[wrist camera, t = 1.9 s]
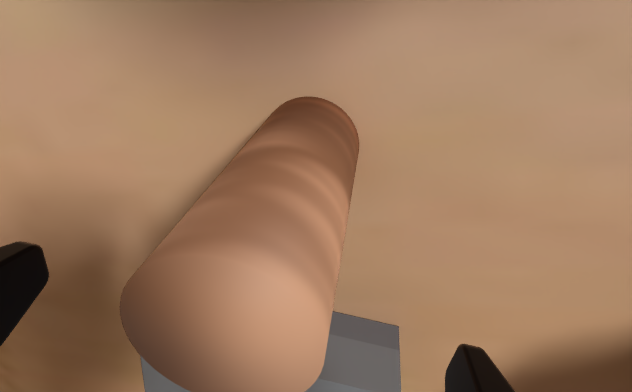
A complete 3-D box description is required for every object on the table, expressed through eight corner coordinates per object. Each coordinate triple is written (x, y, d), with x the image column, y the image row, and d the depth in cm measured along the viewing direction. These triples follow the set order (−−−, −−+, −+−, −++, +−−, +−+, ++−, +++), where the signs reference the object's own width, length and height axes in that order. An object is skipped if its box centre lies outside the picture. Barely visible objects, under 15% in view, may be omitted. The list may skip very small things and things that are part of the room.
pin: (368, 107, 15) (343, 285, 6) (349, 196, 17) (308, 424, 8) (267, 87, 15) (107, 232, 6) (260, 177, 17) (130, 378, 8)
